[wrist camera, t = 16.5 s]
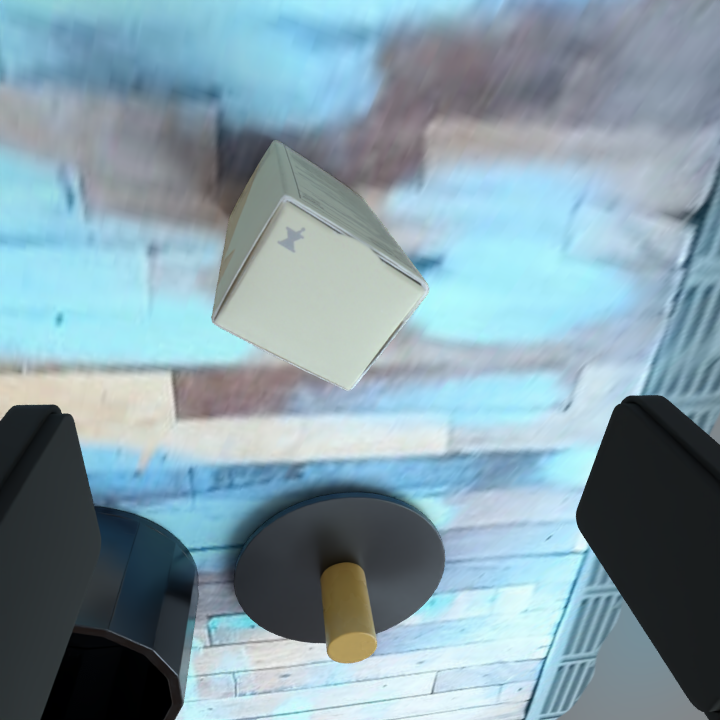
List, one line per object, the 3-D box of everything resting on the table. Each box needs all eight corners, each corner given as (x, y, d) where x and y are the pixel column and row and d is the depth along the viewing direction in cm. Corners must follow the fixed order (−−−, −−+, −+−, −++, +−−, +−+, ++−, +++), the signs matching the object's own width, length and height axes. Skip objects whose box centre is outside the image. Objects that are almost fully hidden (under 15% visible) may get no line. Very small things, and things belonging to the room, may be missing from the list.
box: (226, 219, 24) (195, 319, 14) (274, 134, 23) (277, 183, 13) (322, 277, 26) (352, 398, 16) (373, 203, 25) (436, 289, 15)
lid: (239, 637, 39) (234, 728, 33) (229, 490, 32) (221, 575, 26) (427, 620, 41) (450, 703, 36) (455, 480, 34) (488, 556, 29)
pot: (15, 678, 37) (-40, 807, 31) (-70, 475, 28) (-172, 596, 22) (208, 659, 39) (195, 777, 33) (185, 464, 30) (162, 572, 24)
